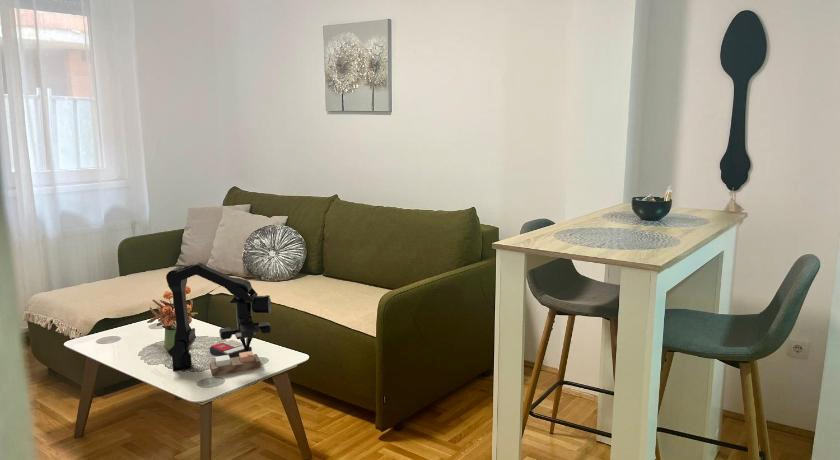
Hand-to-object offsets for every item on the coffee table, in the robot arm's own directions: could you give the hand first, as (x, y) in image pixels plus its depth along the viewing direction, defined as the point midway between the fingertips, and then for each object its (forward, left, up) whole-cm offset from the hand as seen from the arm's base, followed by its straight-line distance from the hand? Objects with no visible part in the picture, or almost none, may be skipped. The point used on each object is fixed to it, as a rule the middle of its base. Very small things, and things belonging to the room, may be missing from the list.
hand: (246, 351), depth 242 cm
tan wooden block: (0, 0, -5) cm, 5 cm away
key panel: (-5, 0, -6) cm, 8 cm away
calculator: (-4, +16, -7) cm, 18 cm away
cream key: (-9, 0, -5) cm, 10 cm away
